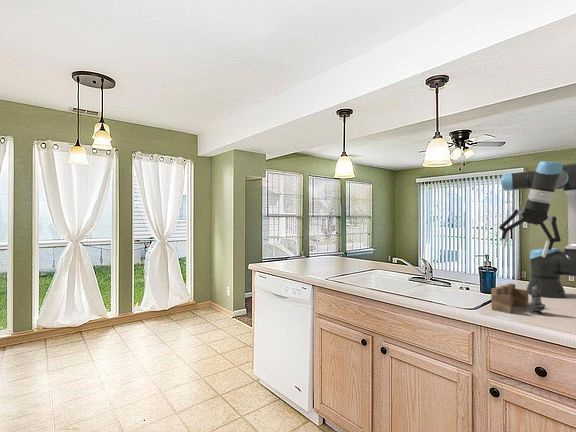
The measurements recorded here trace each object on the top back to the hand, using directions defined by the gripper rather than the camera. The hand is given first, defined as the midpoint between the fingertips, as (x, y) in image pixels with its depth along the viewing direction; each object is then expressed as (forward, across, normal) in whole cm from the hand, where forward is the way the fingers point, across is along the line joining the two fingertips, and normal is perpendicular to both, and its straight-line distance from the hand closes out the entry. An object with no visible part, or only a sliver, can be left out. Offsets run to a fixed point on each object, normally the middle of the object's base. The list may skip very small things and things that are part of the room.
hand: (522, 251), depth 131 cm
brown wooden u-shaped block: (+26, +2, +4) cm, 27 cm away
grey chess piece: (+24, +11, 0) cm, 26 cm away
